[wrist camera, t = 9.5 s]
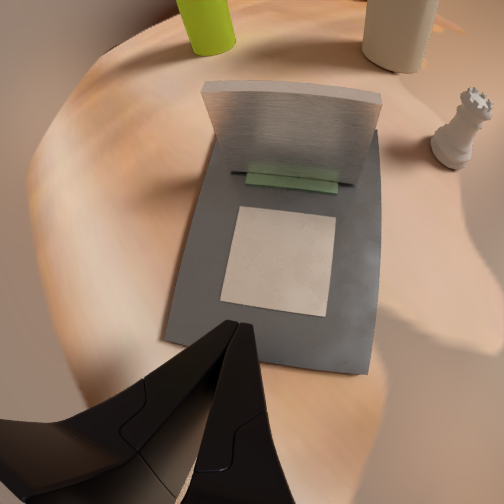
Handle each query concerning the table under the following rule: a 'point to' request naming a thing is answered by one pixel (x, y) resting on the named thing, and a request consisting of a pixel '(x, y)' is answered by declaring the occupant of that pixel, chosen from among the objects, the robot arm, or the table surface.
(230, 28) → the soap dispenser
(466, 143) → the rook chess piece
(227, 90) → the grey bracket
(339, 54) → the table surface
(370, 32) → the travel mug
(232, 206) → the base
